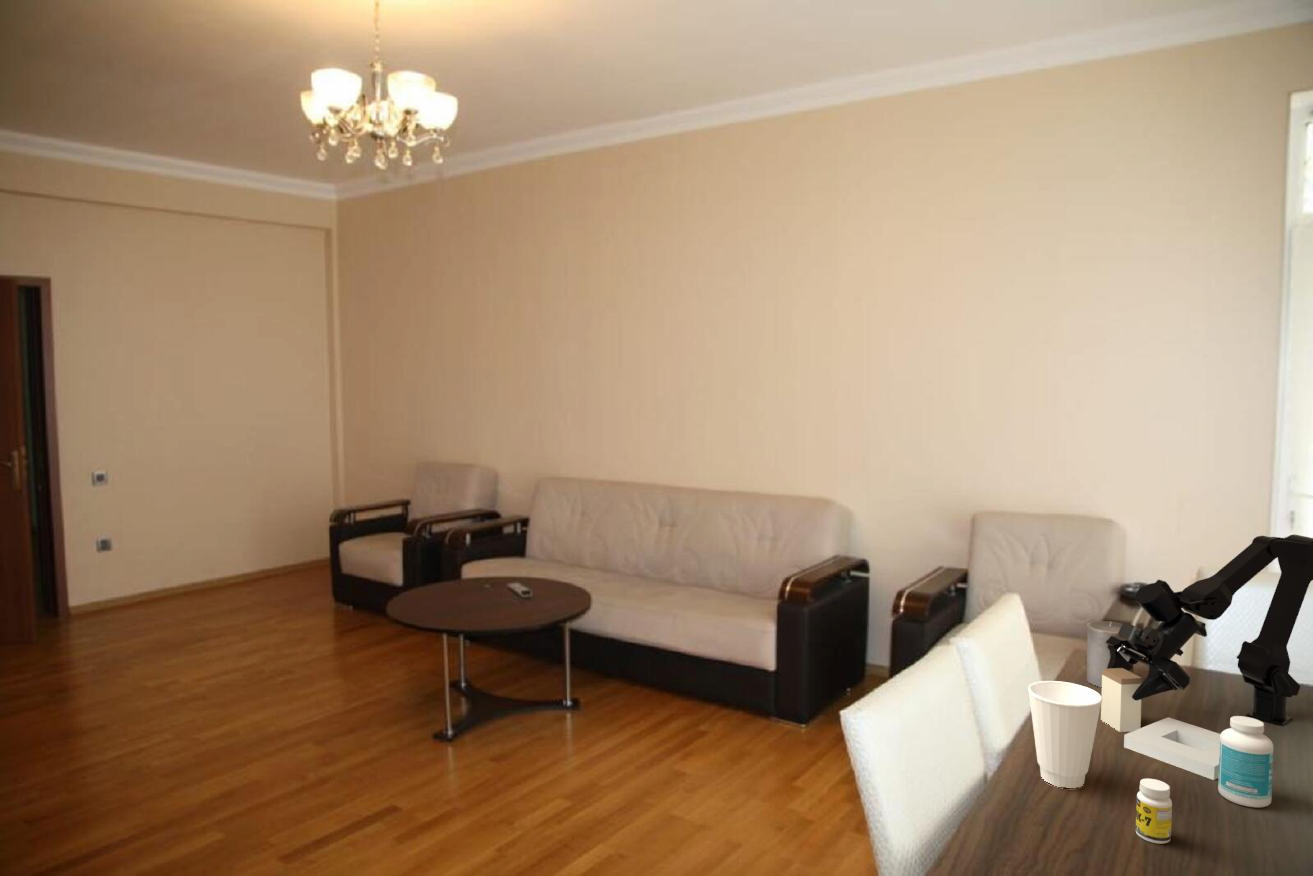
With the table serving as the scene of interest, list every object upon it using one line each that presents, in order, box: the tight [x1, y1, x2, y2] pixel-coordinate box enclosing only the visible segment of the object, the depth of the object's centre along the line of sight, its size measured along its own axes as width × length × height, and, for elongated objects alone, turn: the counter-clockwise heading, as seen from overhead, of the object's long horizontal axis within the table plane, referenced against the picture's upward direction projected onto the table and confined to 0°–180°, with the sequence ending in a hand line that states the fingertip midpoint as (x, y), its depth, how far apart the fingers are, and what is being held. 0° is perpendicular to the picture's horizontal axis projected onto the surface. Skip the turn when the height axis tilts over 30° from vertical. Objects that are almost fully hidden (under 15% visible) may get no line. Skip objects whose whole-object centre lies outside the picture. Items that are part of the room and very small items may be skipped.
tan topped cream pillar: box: [1100, 668, 1143, 733], centre depth 172 cm, size 4×6×11 cm
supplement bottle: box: [1135, 778, 1173, 845], centre depth 130 cm, size 5×5×8 cm
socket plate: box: [1123, 716, 1221, 781], centre depth 159 cm, size 16×16×2 cm
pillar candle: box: [1086, 620, 1135, 688], centre depth 196 cm, size 10×10×15 cm
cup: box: [1027, 680, 1102, 788], centre depth 148 cm, size 12×12×16 cm
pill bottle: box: [1217, 715, 1274, 808], centre depth 141 cm, size 8×7×14 cm
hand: (1118, 690), depth 172 cm, fingers open, 9 cm apart
